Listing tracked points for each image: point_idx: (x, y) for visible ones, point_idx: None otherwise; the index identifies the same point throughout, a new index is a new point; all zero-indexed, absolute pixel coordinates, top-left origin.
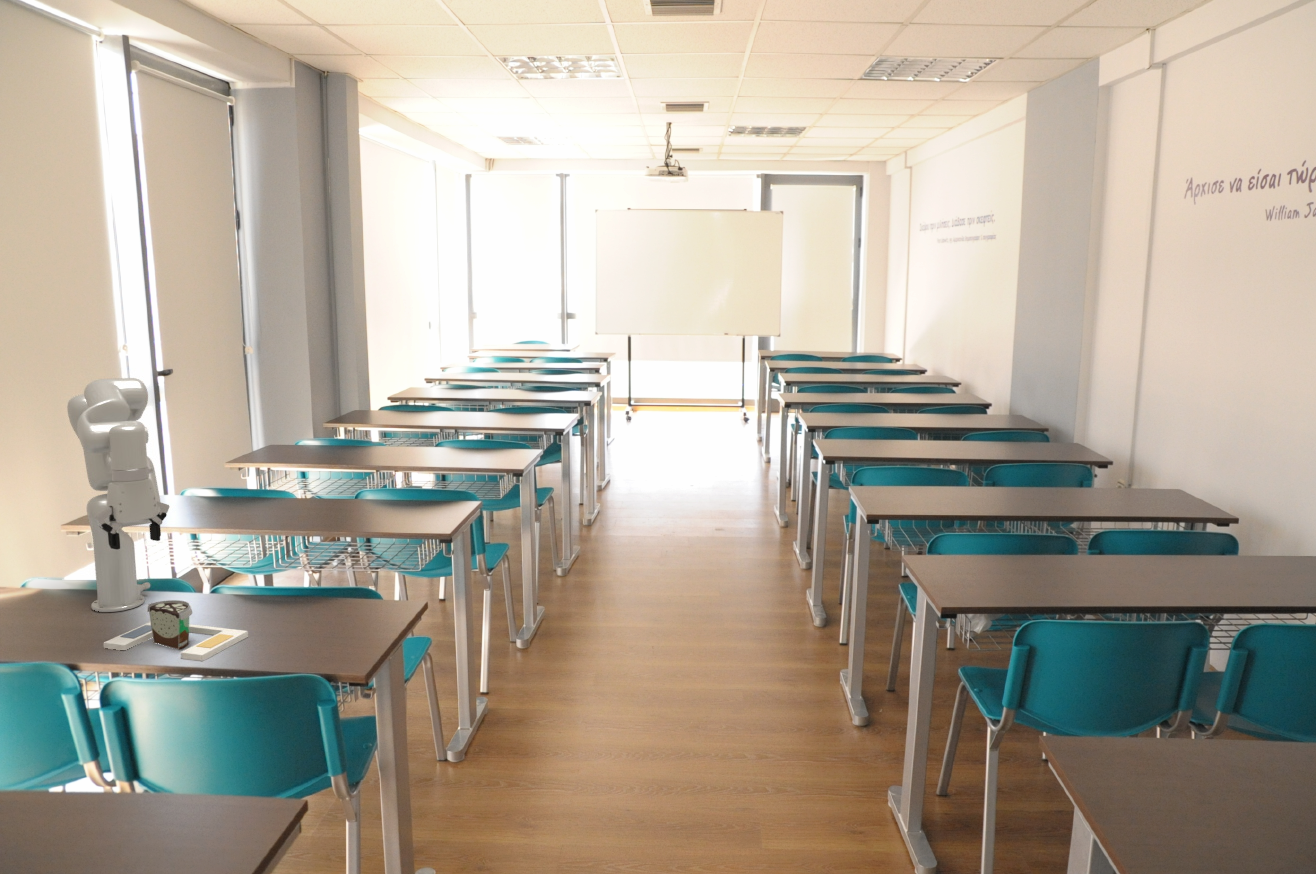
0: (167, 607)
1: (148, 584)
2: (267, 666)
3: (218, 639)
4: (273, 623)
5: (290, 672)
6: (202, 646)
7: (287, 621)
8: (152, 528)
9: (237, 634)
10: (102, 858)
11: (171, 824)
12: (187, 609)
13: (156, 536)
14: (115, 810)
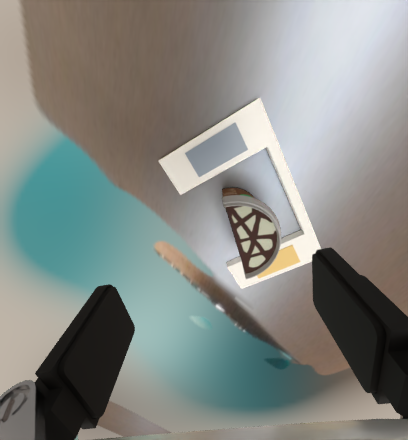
0: (248, 229)
1: None
2: (278, 329)
3: (279, 262)
4: (377, 229)
5: (283, 349)
6: None
7: (394, 234)
8: (354, 337)
9: (307, 258)
10: (112, 429)
11: (142, 428)
12: (264, 268)
13: (324, 321)
14: (121, 411)
